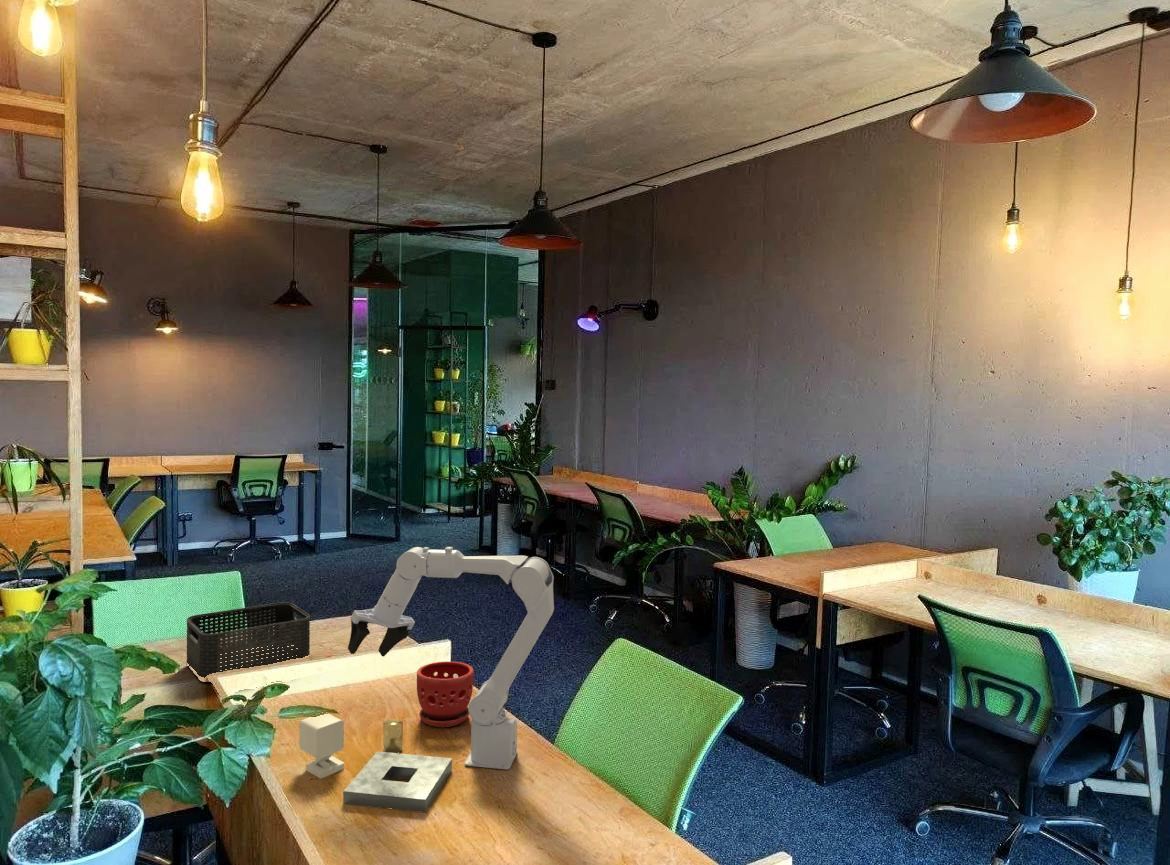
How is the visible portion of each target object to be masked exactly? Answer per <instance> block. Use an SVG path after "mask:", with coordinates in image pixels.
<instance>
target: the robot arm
mask: <svg viewBox="0 0 1170 865" xmlns="http://www.w3.org/2000/svg"><path fill="white" fill-rule="evenodd" d="M395 566H396V568H395V571H394V573H393V574H391V577H390V579H389V580H388V583H387V584H386V586H385V588H384V589H383V592H382V594H381V595H380V597H379V599H378V601H377V604H376V605H374V607H373V608H368V609H363V610H358V609H357V610H355V609H354V610H353V612H352V614H351V616H350V621H351V622H350V625H351V626H350V627H351V630H350V637H349V638H350V639H349V643H348V646H347V650H348V652H349V653H350V654H351V655H354V654H356V652H357V651H358V649H359V648H360V646H361V644H362V643H363V641H364V640H365V639H366V638H367V636H369V635H370V634H371V631H370V630H369V625H368V624H373V625H378V626H381V627H384V628H387V629H386V632H385V634H384V637H383V639H382V641H381V643H380V645H379V647H378V652H379V654H380V655H381V657H386V655H387V654H388V653H389V652H391V650H392V649H393V648H394V647H396V646H397V645H398V644H399V643H400V642H402V641H403V640H404V639H407V638H408V636H409V635H410V633H409V631H408V630H410V631H411V630H412V629H413V627H414V625H415V624H416V622H415V620H414V619H413V617H412V616H408V615H407V616H406V615H403V614H404V612H405V609H406V608H407V605H408V604H409V602H410V600H411V598H412V597H413V595H414V592H415V591H416V589H417V587H418V584H419V582H420V580H421V579H422V576H423V577H424V576H425V577H427V578H445V579H446V578H448V579H449V578H450V579H457V578H459V577H460V576H461V574H463V573H470V574H481V575H482V574H484V575H494V576H499V578H501V579H502V580H503V581H504V583H505V584H506V585H509V584H510V583H511V585H512V589H513V590H514V592H515V594H516V595H517V596H518V597H519V598H520V599H521V601H522V602H523V603H524V607H525V609H526V611H527V614H526V616H525V617H524V619H523V621H522V622H521V624H520V626H519V628H518V629H517V631H516V633H515V634H514V636H513V638H512V639H511V641H510V643H509V645H508V646H507V648H506V650H505V652H504V654H503V655H502V657H501V658H500V660H499V662H498V663H497V665H496V667H495V669H494V671H493V672H492V674H491V676H489V679H488V680H486V681H484V682H483V683H482V684H481V685H480V688H479V690H478V692H477V693H476V694H475V696H474V697H472V699H470V702H469V704H468V708H469V716H470V718H471V720H470V721H471V722H470V724H471V726H470V737H471V738H470V752H469V755H468V757H467V758H466V760H465V762H464V766H467V767H475V768H476V767H477V768H487V769H488V768H489V769H498V770H505V771H506V770H509V769H510V768H511V767H512V764H513V762H514V760H515V758H516V756H517V754H518V749H517V748H518V744H517V743H518V722H517V720H516V719H514V718H510V717H508V716H507V714H506V711H505V708H504V705H505V704H506V703H507V701H508V700H509V699H508V698H509V690H510V687H511V686H512V684H513V682H514V680H515V678H516V677H517V675H518V673H519V671H521V669H522V666H523V665H524V663H525V662H526V659H527V658H528V656H529V654H530V652H532V649H533V648H534V646H535V645H536V642H537V641H538V639H539V637H540V636H541V634H542V632H543V631H544V629H545V627H546V625H547V624H548V622H549V620H550V619H551V617H552V615H553V614H554V611H555V604H554V603H555V602H554V601H555V600H554V579H555V577H554V574H553V572H552V570H551V567H550V565H549V563H548V561H546V560H545V559H543V558H541V557H538V556H532V557H529V556H527V555H522V554H521V555H477V556H476V555H473V556H472V555H469V556H466V555H464V554H463V553H462V552H461V551H460V550H458V549H454V548H453V546H446V547H445V548H444V549H432V548H431V549H430V547H427V546H425V547H421V546H420V547H419V546H414V547H412V548H410V549H408V550H407V551H405V552H404V553H402V554H401V555H400V556H399V557H398V558H397V561H396V565H395Z"/></svg>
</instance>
